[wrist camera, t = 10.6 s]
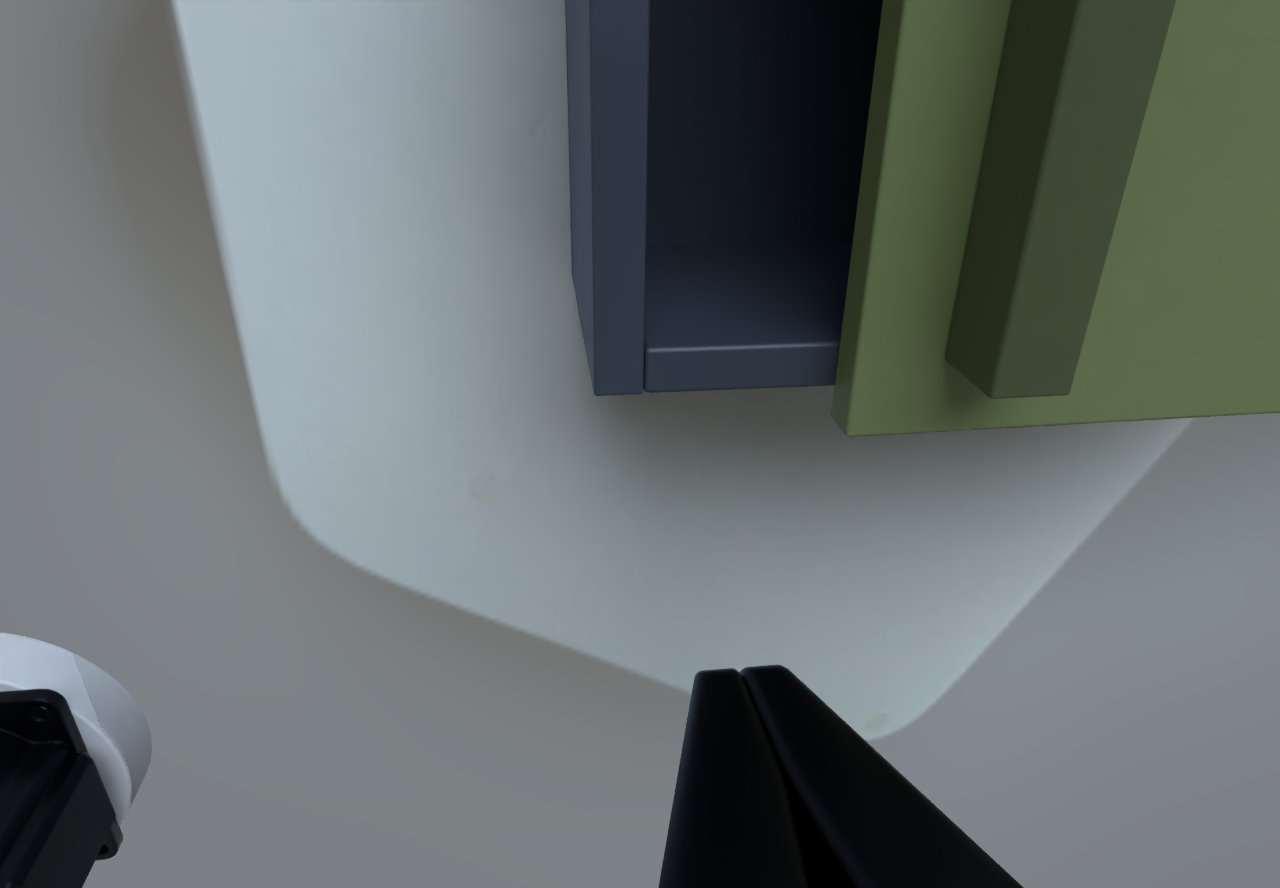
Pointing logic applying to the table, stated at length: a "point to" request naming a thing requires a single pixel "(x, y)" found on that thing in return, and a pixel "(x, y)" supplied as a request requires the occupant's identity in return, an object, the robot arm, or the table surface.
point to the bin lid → (1065, 216)
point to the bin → (715, 186)
